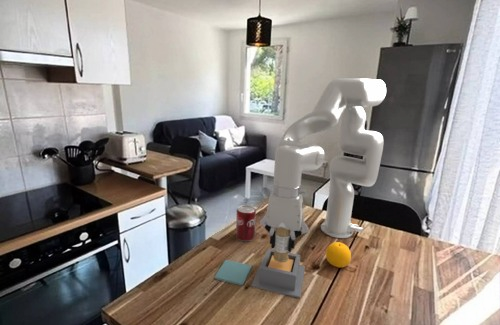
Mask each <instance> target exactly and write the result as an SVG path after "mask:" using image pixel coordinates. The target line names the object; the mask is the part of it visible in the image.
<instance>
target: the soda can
mask: <svg viewBox="0 0 500 325" xmlns="http://www.w3.org/2000/svg"><path fill="white" fill-rule="evenodd" d="M256 216H257V210H256V208H255V207H254V206H252V205H247V204H246V205H244V204H243V205H239V206H238V207H237V208H236V219H235V220H236V222H235V224H236V225H235V227H236V228H235V238H236V239H237V240H239V241H240V242H244V243H245V242H251V241H252V240H254V239H255V237H256V220H257V217H256Z"/></svg>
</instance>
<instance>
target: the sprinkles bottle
mask: <svg viewBox="0 0 500 325" xmlns="http://www.w3.org/2000/svg"><path fill="white" fill-rule="evenodd" d="M282 227H284V228H282ZM275 231H276V233H275V245H274V248H273V250H274V259H275V260H276V261H278V262H286V261H288V258H289V257H288V253H290V252H289V251H288V249H289V239H290V236H291V234H290V230H287V229H285V224H284V223H281V224H280V225H279V228H276V229H275Z"/></svg>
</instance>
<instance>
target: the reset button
mask: <svg viewBox="0 0 500 325" xmlns="http://www.w3.org/2000/svg"><path fill="white" fill-rule="evenodd" d="M293 261H294V260H292V259H288V261H286V262H278V261H276V260H275V259H274V256H273V255H272V257H271V260H270V263H269V265H268V267H270V268H275V269H279V270H284V271H288V272H291V271H292V267H293Z"/></svg>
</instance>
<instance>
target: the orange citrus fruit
mask: <svg viewBox="0 0 500 325" xmlns="http://www.w3.org/2000/svg"><path fill="white" fill-rule="evenodd" d="M325 256H326V257H325V258H326V260H327V262H328V263H329V264H330V265H331V266H333V267H335V268H345V267H347V266H348V265H349V264H350V262H351V260H352V253H351V250H350V248H349V247H348V246H347V245H346V244H345V243H343V242H339V241H336V242H332V243H331V244H329V245H328V246H327V247H326V250H325Z"/></svg>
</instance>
